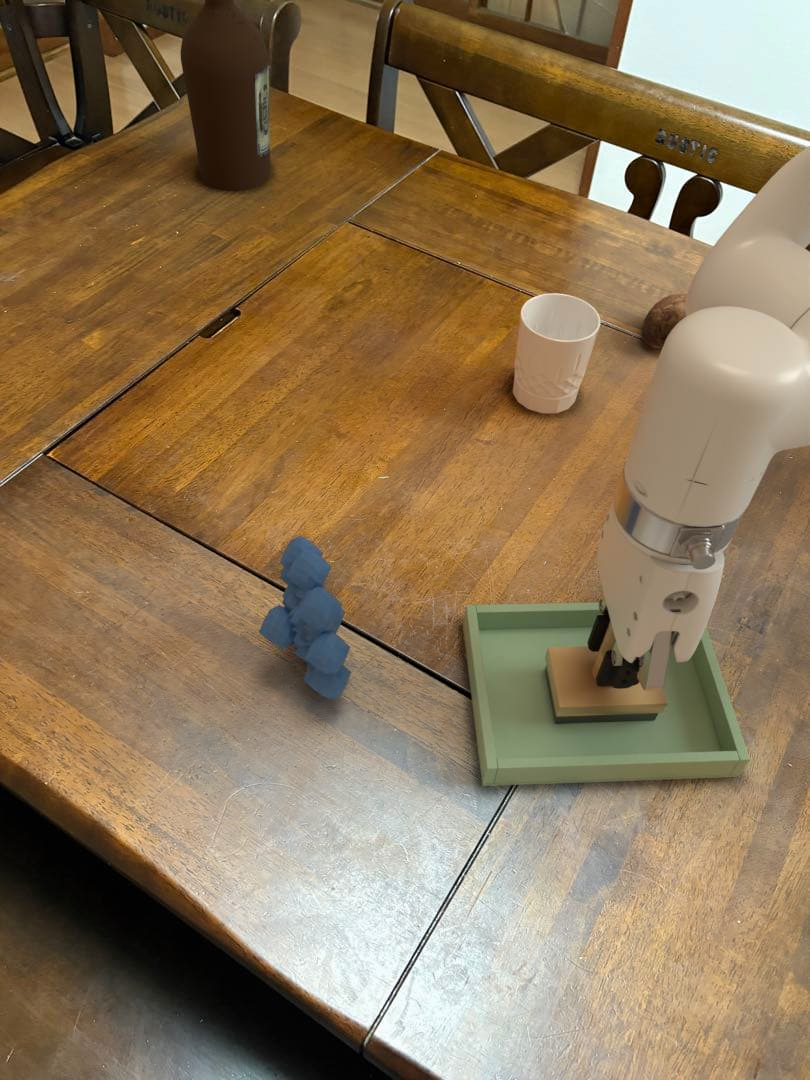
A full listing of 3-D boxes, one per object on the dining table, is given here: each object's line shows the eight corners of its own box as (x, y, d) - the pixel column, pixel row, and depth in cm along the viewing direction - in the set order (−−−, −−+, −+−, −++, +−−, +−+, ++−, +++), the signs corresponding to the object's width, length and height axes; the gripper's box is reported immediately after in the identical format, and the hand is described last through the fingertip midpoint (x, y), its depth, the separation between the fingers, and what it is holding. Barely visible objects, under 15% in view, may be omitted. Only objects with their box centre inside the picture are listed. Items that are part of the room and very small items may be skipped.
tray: (687, 621, 79) (697, 599, 77) (736, 778, 70) (750, 759, 67) (462, 626, 77) (465, 604, 75) (482, 787, 68) (486, 768, 66)
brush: (642, 664, 75) (675, 591, 67) (658, 722, 72) (695, 652, 64) (541, 667, 74) (563, 593, 67) (552, 726, 71) (577, 656, 63)
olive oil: (191, 194, 120) (162, -17, 101) (201, 154, 127) (175, -51, 108) (272, 196, 121) (259, -13, 102) (278, 157, 127) (266, -46, 108)
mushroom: (738, 332, 101) (717, 284, 98) (683, 376, 100) (661, 329, 97) (693, 323, 108) (672, 278, 105) (641, 364, 107) (619, 320, 104)
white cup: (530, 361, 101) (545, 283, 93) (593, 390, 98) (614, 313, 91) (493, 398, 97) (505, 320, 89) (558, 430, 94) (576, 352, 86)
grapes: (249, 616, 77) (235, 522, 68) (326, 598, 79) (324, 504, 69) (281, 735, 70) (271, 649, 61) (365, 713, 72) (368, 625, 62)
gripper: (781, 607, 51) (687, 760, 65) (701, 412, 61) (635, 580, 75) (649, 610, 50) (583, 763, 64) (591, 412, 61) (545, 582, 75)
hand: (612, 663), depth 70 cm, fingers closed on brush, 2 cm apart
